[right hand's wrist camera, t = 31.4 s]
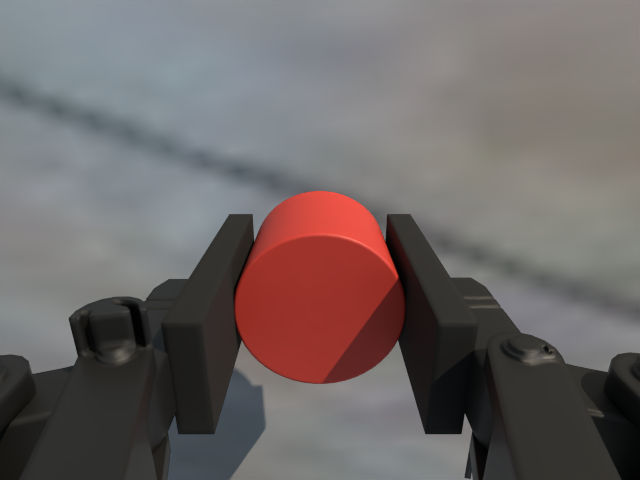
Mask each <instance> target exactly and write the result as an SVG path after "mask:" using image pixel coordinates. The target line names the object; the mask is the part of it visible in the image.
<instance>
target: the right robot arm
mask: <svg viewBox="0 0 640 480" xmlns="http://www.w3.org/2000/svg"><path fill="white" fill-rule="evenodd" d="M253 244H254V231H253V214H229V216H228V218H227V219H226V221H225V222H224V224H223V225H222V227H221V229H220V230H219V232H218V233H217V235H216V236H215V238H214V240H213V241H212V243H211V244H210V246H209V247H208V249H207V251H206V252H205V254H204V255H203V257H202V258H201V260H200V262H199V263H198V265H197V266H196V268H195V270H194V271H193V273H192V274H191V276H190V277H189V279H169V280H167V281H165V282H164V283H162V284H160V285H159V286H157V287H156V288H154V289H153V291H152V292H151V293H150V295H149V296H148V297H147V299H146V301H144V302H143V301H142V300H140V299H138V298H133V297H112V298H107V299H101V300H99V301H96V302H93V303H90V304H87V305H85V306H84V307H82V308H80V309H78V310H77V311H75V312H74V313H73V314H72V315H71V317H70V318H69V322H70V326H71V330H72V334H73V338H74V342H75V346H76V350H77V354H78V358H77V360H76V362H75V364H74V366H70V367H66V368H62V369H57V370H51V371H46V372H41V373H36V374H32V371H31V368H30V365H29V361H28V360H26V359H25V358H24V357H22V356H17V355H1V356H0V480H167V477H168V469H169V460H170V452H171V449H170V442H169V436H168V430H169V427H170V425H171V423H172V420H173V418H174V416H176V422H177V429H178V434H214V433H215V430H216V427H217V423H218V420H219V416H220V413H221V409H222V406H223V403H224V399H225V396H226V392H227V389H228V385H229V382H230V379H231V375H232V372H233V368H234V365H235V361H236V358H237V354H238V351H239V348H240V344H241V341H242V339H241V338H240V335H239V333H238V330H237V328H236V323H235V317H234V296H235V291H236V287H237V285H238V282H239V280H240V277H241V275H242V272H243V270H244V267H245V265H246V262H247V259H248V257H249V254H250V252H251V249H252V247H253ZM386 245H387V247H388V250H389V253H390V255H391V258H392V260H393V263H394V265H395V268H396V271H397V273H398V276H399V278H400V281H401V283H402V286H403V289H404V293H405V298H406V313H405V321H404V326H403V329H402V332H401V334H400V337H399V339H398V342H399V345H400V348H401V352H402V355H403V359H404V362H405V366H406V369H407V373H408V376H409V379H410V383H411V386H412V390H413V393H414V397H415V400H416V403H417V407H418V410H419V414H420V417H421V421H422V424H423V428H424V431H425V434H461V433H462V427H463V421H464V414H466V416H467V419H468V421H469V424H470V426H471V428H472V436H471V442H470V448H469V454H468V460H467V466H466V472H465V478H469V479H470V478H471V473H472V476H473V480H640V354H639V353H623V354H618V355H617V356H615V357H614V358H613V359H612V360H611V363H610V367H609V370H608V372H603V371H598V370H593V369H588V368H583V367H578V366H573V365H569V364H565V362H564V359H563V357H562V356H561V354H560V353H559V352H558V351H557V349H556V348H555V347H553V346H552V345H550V344H549V343H547V342H546V341H544V340H542V339H539V338H537V337H534V336H532V335H528V334H523V333H521V332H520V331H519V330H518V328H517V327H516V326H515V324H514V323H513V322H512V320H511V319H510V318H509V317H508V315H507V314H506V313H505V311H504V310H503V309H502V308H500V305H499V304H498V302H497V301H496V300H495V299H494V297H493V296H492V295H491V293H490V292H489V291H488V289H487V288H486V287H485V286H483V285H482V284H480V283H479V282H477V281H475V280H474V279H472V278H450V276H449V275H448V273H447V272H446V270H445V268H444V267H443V265H442V264H441V262H440V260H439V259H438V257H437V256H436V254H435V253H434V251H433V249H432V248H431V246H430V245H429V243H428V242H427V240H426V238H425V237H424V235H423V234H422V232H421V231H420V229H419V227H418V226H417V224H416V223H415V221H414V220H413V218H412V216H411V215H410V214H387V227H386Z"/></svg>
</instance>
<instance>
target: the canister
mask: <svg viewBox="0 0 640 480" xmlns="http://www.w3.org/2000/svg"><path fill="white" fill-rule="evenodd" d="M405 313H406V298H405V293H404V289H403V286H402V283H401V281H400V278H399V276H398V273H397V271H396V268H395V265H394V263H393V260H392V258H391V255H390V253H389V250H388V247H387V245H386V242H385V240H384V237H383V235H382V232H381V229H380V227H379V225H378V223H377V222H376V220H375V219H374V217H373V216H372V215H371V213H370V212H369V211H368V210H367V209H366V208H365V207H363V206H362V205H361V204H359V203H358V202H356V201H355V200H353V199H351V198H349V197H346V196H344V195H341V194H337V193H334V192H326V191H314V192H306V193H302V194H298V195H296V196H293V197H291V198H289V199H287V200H285V201H284V202H282V203H281V204H279V205H278V206H277V207H275V208H274V209H273V210H272V211H271V212H270V213H269V215H268V216H267V217H266V218H265V220H264V222H263V223H262V225H261V227H260V229H259V232H258V234H257V237H256V239H255V242H254V244H253V247H252V249H251V252H250V254H249V257H248V259H247V262H246V265H245V267H244V270H243V272H242V275H241V277H240V280H239V282H238V285H237V287H236V291H235V296H234V317H235V323H236V328H237V330H238V333H239V335H240V338H241V339H242V341H243V343H244V345H245V346H246V348H247V349H248V350H249V352H250V353H251V354H252V355H253V356H254V357H255V358H256V359H257V360H258V361H259V362H260V363H261V364H263V365H264V366H265V367H266V368H268V369H270V370H271V371H273V372H274V373H277V374H279V375H281V376H283V377H286V378H289V379H291V380H295V381H299V382H304V383H313V384H326V383H336V382H340V381H345V380H348V379H351V378H354V377H357V376H359V375H361V374H363V373H365V372H367V371H368V370H370V369H372V368H373V367H375V366H376V365H377V364H378V363H380V362H381V361H382V360H383V359H384V358H385V357H386V356H387V355H388V354H389V352H390V351H391V350H392V349H393V347H394V346H395V344H396V342H397V340H398V339H399V337H400V334H401V332H402V329H403V326H404V321H405Z"/></svg>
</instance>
